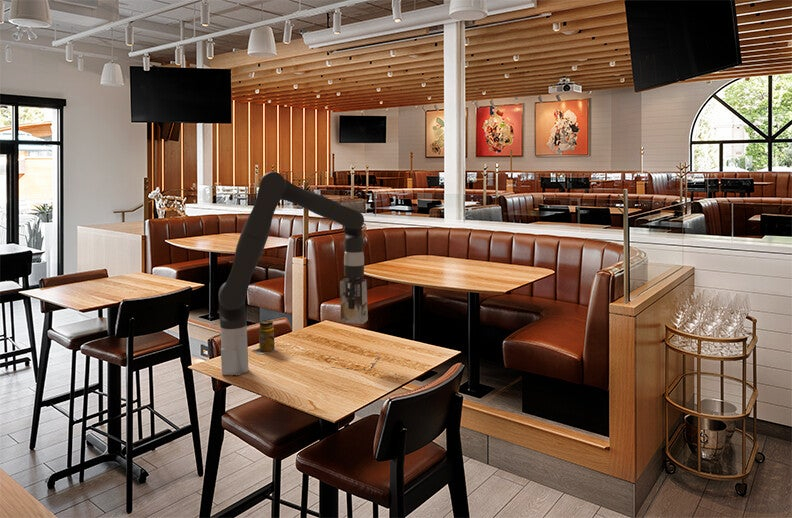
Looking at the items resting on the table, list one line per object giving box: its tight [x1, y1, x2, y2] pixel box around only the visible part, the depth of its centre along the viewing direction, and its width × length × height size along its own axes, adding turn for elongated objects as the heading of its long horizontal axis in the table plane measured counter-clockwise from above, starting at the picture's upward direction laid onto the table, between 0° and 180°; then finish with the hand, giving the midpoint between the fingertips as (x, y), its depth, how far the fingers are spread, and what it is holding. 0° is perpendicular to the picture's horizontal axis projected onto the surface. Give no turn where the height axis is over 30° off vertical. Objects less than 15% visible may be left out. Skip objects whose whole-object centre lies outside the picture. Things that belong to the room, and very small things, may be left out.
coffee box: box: [339, 277, 369, 325], centre depth 217 cm, size 9×6×16 cm
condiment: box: [251, 320, 279, 355], centre depth 235 cm, size 7×8×12 cm
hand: (354, 306), depth 218 cm, fingers closed on coffee box, 6 cm apart
